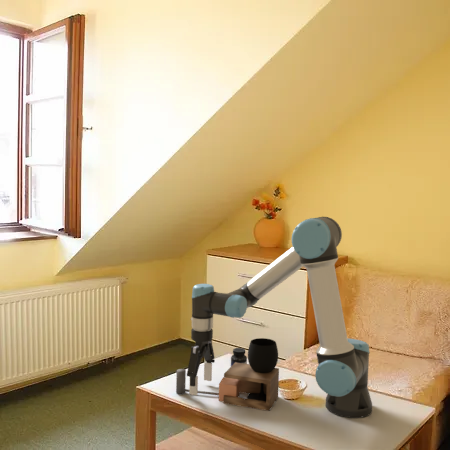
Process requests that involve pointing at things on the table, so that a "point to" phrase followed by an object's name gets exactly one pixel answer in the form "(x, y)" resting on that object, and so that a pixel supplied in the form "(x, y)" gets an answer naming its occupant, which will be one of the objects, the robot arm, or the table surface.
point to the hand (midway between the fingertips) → (200, 387)
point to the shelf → (253, 386)
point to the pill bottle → (238, 356)
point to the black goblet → (262, 361)
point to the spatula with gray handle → (225, 388)
